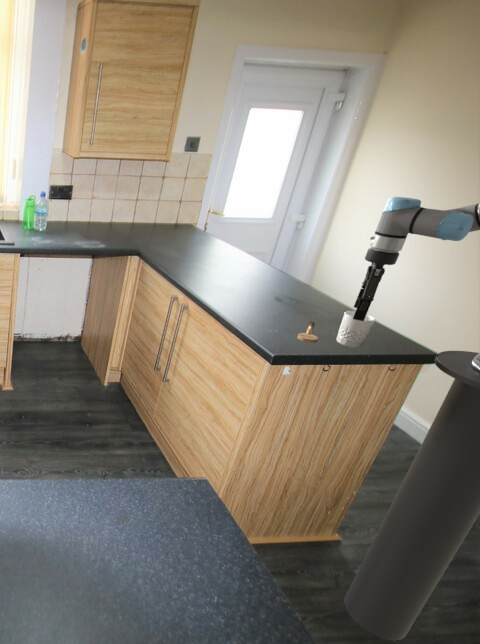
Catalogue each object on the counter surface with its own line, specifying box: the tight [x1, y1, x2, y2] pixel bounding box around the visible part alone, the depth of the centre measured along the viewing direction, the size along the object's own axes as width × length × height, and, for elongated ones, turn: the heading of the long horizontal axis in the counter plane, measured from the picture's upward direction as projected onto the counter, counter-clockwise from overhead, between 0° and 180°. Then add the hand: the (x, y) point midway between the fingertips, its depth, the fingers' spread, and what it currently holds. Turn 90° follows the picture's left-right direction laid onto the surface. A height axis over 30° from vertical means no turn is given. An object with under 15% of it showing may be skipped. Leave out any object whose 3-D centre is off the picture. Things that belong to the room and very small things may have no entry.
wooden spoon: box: [296, 321, 319, 344], centre depth 163 cm, size 19×6×2 cm, turn 142°
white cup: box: [335, 310, 376, 348], centre depth 154 cm, size 8×8×10 cm
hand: (358, 313), depth 152 cm, fingers open, 13 cm apart
